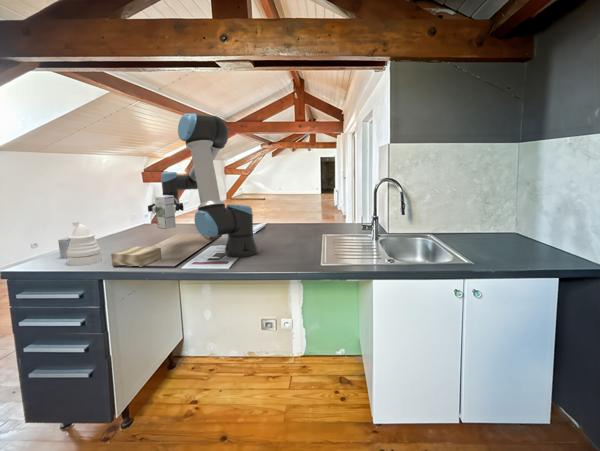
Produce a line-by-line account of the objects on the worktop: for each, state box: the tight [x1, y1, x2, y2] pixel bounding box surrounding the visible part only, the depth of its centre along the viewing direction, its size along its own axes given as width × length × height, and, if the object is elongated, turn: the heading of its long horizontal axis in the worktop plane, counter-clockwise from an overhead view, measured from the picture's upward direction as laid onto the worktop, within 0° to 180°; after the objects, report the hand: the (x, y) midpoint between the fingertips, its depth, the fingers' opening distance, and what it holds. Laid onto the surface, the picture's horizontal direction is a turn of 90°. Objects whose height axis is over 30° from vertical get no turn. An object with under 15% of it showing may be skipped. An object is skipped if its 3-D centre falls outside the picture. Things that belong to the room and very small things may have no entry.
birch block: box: [110, 246, 162, 268], centre depth 156 cm, size 14×14×5 cm
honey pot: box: [66, 221, 103, 266], centre depth 157 cm, size 13×13×18 cm
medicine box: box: [57, 237, 70, 259], centre depth 168 cm, size 8×4×9 cm, turn 168°
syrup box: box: [154, 194, 177, 230], centre depth 157 cm, size 6×6×14 cm
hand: (164, 210), depth 152 cm, fingers closed on syrup box, 8 cm apart
